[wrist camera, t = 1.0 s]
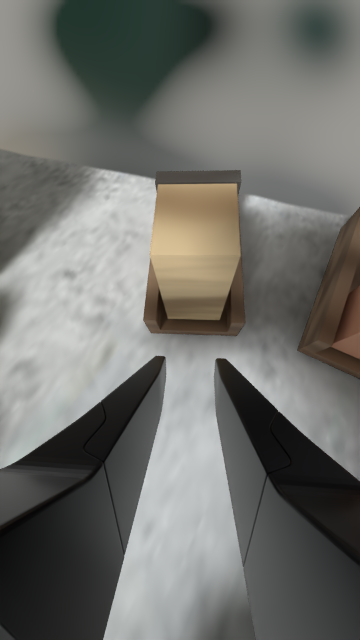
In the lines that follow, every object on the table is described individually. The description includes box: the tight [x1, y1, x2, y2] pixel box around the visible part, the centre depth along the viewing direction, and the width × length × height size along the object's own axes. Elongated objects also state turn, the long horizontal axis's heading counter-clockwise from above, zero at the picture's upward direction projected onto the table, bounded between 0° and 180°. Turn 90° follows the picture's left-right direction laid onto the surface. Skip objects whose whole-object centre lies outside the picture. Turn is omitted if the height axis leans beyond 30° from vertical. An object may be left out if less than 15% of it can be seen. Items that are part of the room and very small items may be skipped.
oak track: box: [143, 170, 245, 336], centre depth 21 cm, size 15×8×5 cm, turn 177°
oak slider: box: [150, 184, 241, 320], centre depth 16 cm, size 5×5×9 cm
